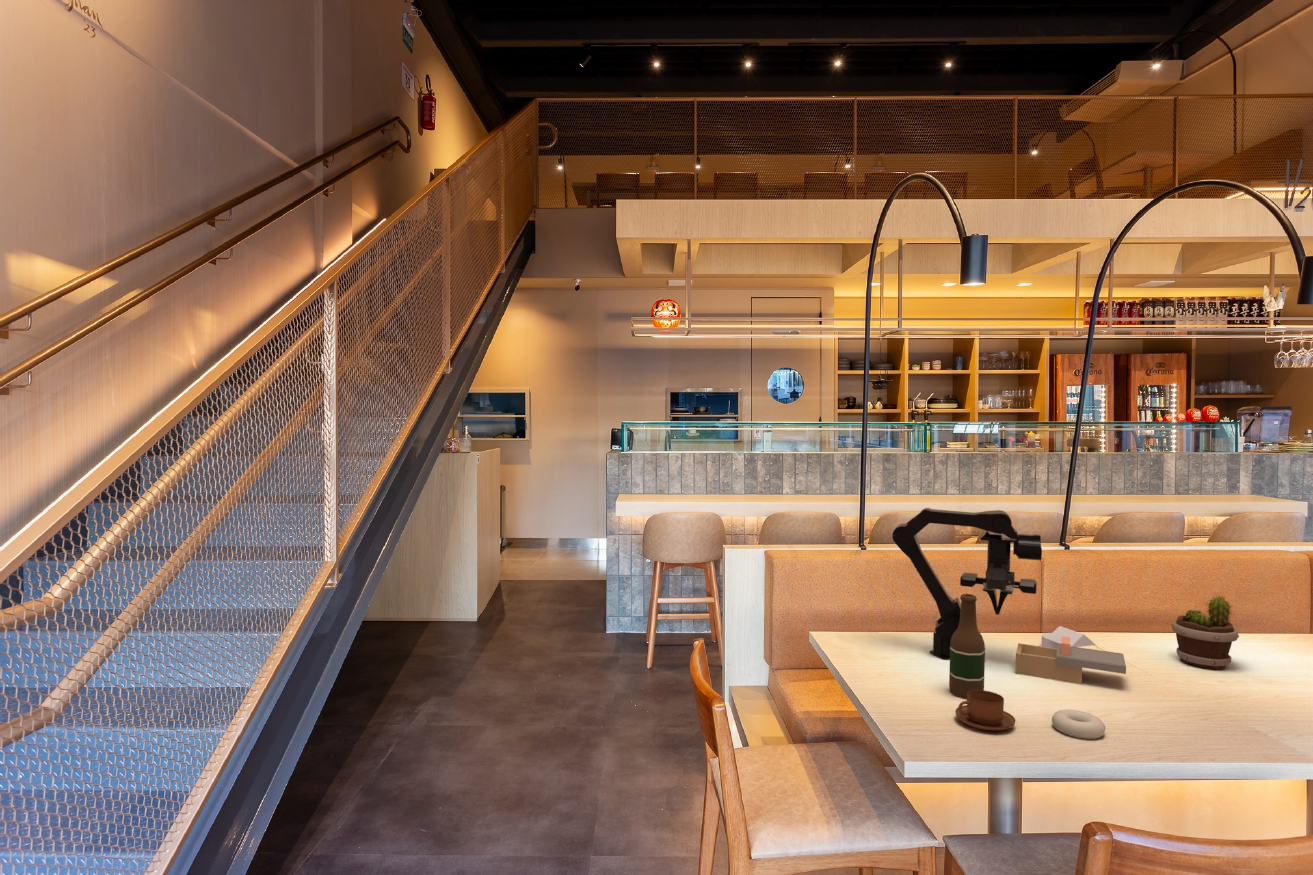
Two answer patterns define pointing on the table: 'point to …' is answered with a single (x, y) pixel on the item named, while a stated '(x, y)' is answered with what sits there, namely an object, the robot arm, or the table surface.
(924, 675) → the table surface
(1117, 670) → the lid
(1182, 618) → the flowerpot
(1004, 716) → the cup and saucer
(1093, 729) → the donut
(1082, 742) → the table surface
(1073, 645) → the wedge on round base
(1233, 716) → the table surface
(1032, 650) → the base
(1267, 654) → the table surface
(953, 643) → the beer bottle
